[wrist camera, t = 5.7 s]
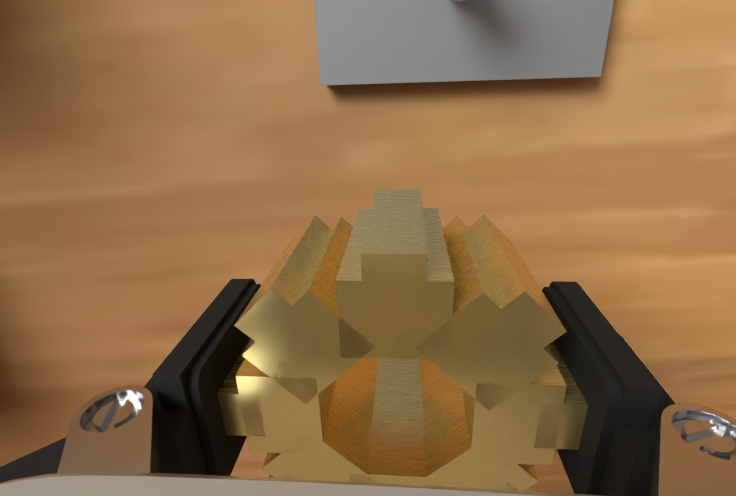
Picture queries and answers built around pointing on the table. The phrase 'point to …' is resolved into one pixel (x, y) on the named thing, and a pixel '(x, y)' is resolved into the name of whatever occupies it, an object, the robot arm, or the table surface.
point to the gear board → (459, 40)
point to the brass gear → (402, 356)
